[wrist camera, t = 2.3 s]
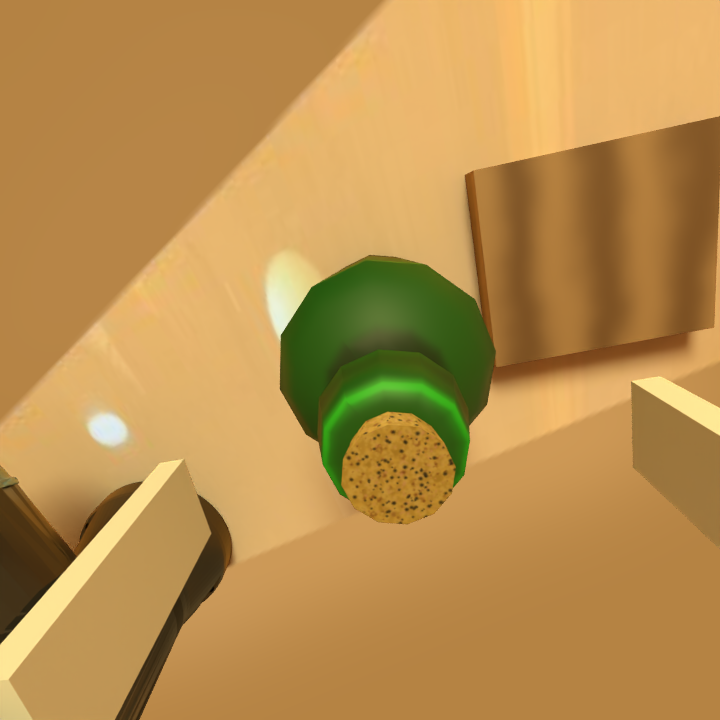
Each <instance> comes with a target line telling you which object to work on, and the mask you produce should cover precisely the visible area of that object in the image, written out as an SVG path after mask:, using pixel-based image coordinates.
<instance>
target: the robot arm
mask: <svg viewBox="0 0 720 720" xmlns="http://www.w3.org/2000/svg"><path fill="white" fill-rule="evenodd" d="M631 392H632V439H633V440H632V444H633V468H634V469H636V470H637V471H638V472H639V473H640V474H641V475H642V476H643V477H644V478H645V479H646V480H647V481H648V482H649V483H650V484H651V485H652V486H654V487H655V488H656V489H657V490H658V491H659V492H660V493H661V494H662V495H663V496H664V497H665V498H666V499H667V500H669V502H671V503H672V504H673V505H674V506H675V507H676V508H677V509H678V510H679V511H680V512H681V513H682V514H683V515H684V516H685V517H687V518H688V519H689V520H690V521H691V522H692V523H693V524H694V525H695V526H696V527H697V528H698V529H699V530H700V531H701V532H702V533H703V534H705V535H706V536H707V537H708V538H709V539H710V540H711V541H712V542H713V543H714V544H715V545H716V546H717V547H718V548H719V549H720V408H718V407H716V406H715V405H713V404H711V403H709V402H707V401H705V400H703V399H701V398H700V397H698V396H696V395H694V394H692V393H690V392H688V391H687V390H685V389H683V388H681V387H679V386H677V385H675V384H674V383H672V382H670V381H668V380H666V379H664V378H662V377H661V376H659V377H653V378H647V379H641V380H636V381H631ZM18 483H19V481H18V479H17V478H15V477H11V476H10V475H9V474H8V473H7V472H6V471H5V470H4V469H3V468H2V467H1V466H0V720H139V719H140V717H141V715H142V713H143V710H144V708H145V706H146V704H147V702H148V699H149V697H150V695H151V693H152V690H153V688H154V686H155V684H156V681H157V679H158V677H159V675H160V673H161V671H162V668H163V666H164V664H165V662H166V659H167V657H168V655H169V653H170V651H171V648H172V646H173V644H174V642H175V639H176V637H177V635H178V633H179V631H180V629H181V627H182V625H183V624H184V623H185V622H186V621H187V620H188V619H189V618H190V617H191V615H192V614H193V613H194V612H195V611H196V610H197V608H198V607H199V606H200V604H201V603H202V602H204V601H205V600H206V599H207V598H208V597H209V596H210V595H211V594H212V593H213V592H214V591H215V589H216V588H217V587H218V585H219V583H220V582H221V580H222V578H223V575H224V573H225V571H226V568H227V566H228V563H229V560H230V557H231V539H230V534H229V531H228V528H227V526H226V524H225V522H224V520H223V519H222V517H221V516H220V514H219V513H218V512H217V511H216V509H215V508H214V507H213V506H212V505H211V504H210V503H208V502H207V501H206V500H205V499H203V498H202V497H201V496H199V495H198V494H197V493H196V490H195V488H194V485H193V482H192V479H191V477H190V474H189V471H188V469H187V466H186V463H185V461H184V459H180V460H175V461H169V462H163V463H160V464H159V465H158V466H157V467H156V468H155V469H154V471H153V472H152V473H151V474H150V475H149V476H148V477H147V479H146V480H145V481H144V482H137V483H132V484H129V485H126V486H123V487H121V488H119V489H117V490H116V491H114V492H113V493H111V494H110V495H109V496H108V497H107V498H106V499H104V501H103V502H102V503H101V504H100V505H99V506H98V507H97V508H96V509H95V510H94V511H93V512H92V514H91V515H90V516H89V518H88V519H87V521H86V523H85V525H84V527H83V530H82V533H81V536H80V542H79V544H78V545H77V547H76V549H75V550H74V552H73V551H72V550H71V549H70V548H69V547H68V545H67V544H66V543H65V542H64V540H63V539H62V538H61V537H60V536H59V534H58V533H57V532H56V531H55V530H54V528H53V527H52V526H51V525H50V524H49V522H48V521H47V520H46V519H45V517H44V516H43V515H42V514H41V513H40V511H39V510H38V509H37V508H36V507H35V505H34V504H33V503H32V502H31V501H30V499H29V498H28V497H27V496H26V494H25V493H24V492H23V490H22V489H21V488H20V487H19V485H18Z"/></svg>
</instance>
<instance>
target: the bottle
mask: <svg viewBox="0 0 720 720" xmlns="http://www.w3.org/2000/svg"><path fill="white" fill-rule="evenodd" d="M495 356H496V350H495V347H494V345H493V342H492V340H491V337H490V335H489V332H488V330H487V328H486V325H485V323H484V320H483V318H482V315H481V313H480V310H479V308H478V306H477V303H476V301H475V299H474V298H472V297H471V296H469V295H468V294H467V293H465V292H464V291H462V290H461V289H460V288H458V287H457V286H455V285H454V284H453V283H451V282H450V281H448V280H447V279H446V278H444V277H443V276H441V275H440V274H438V273H437V272H436V271H434V270H433V269H431V268H430V267H429V266H427V265H424V264H420V263H417V262H413V261H409V260H405V259H401V258H397V257H388V256H375V255H369V256H367V257H365V258H363V259H361V260H359V261H357V262H355V263H353V264H351V265H349V266H347V267H345V268H343V269H342V270H340V271H338V272H337V273H335V274H333V275H331V276H330V277H328V278H326V279H325V280H323V281H321V282H320V283H318V284H316V285H315V286H313V287H311V289H310V291H309V292H308V294H307V295H306V297H305V298H304V300H303V302H302V303H301V305H300V306H299V308H298V309H297V311H296V312H295V314H294V316H293V317H292V319H291V320H290V322H289V323H288V325H287V327H286V328H285V330H284V331H283V333H282V334H281V357H280V390H281V392H282V394H283V395H284V397H285V399H286V401H287V402H288V404H289V406H290V408H291V409H292V411H293V413H294V414H295V416H296V418H297V420H298V421H299V423H300V425H301V427H302V428H303V430H304V432H305V434H306V435H308V436H309V437H311V438H313V439H314V440H316V441H318V442H319V446H320V451H321V457H322V462H323V466H324V467H325V469H326V471H327V473H328V474H329V476H330V478H331V480H332V481H333V483H334V485H335V487H336V488H337V490H338V492H339V493H340V495H342V496H344V497H345V498H347V499H349V500H350V501H351V503H352V505H353V507H354V508H355V509H357V510H359V511H360V512H362V513H364V514H365V515H367V516H369V517H370V518H372V519H374V520H376V521H377V522H383V523H397V524H409V523H411V522H414V521H417V520H419V519H422V518H425V517H427V516H429V515H432V514H434V513H435V512H436V511H437V510H438V509H439V507H440V506H441V505H442V504H443V503H444V502H445V501H446V499H447V498H448V497H449V496H450V495H451V494H452V489H453V487H454V486H455V485H456V484H457V483H458V482H459V480H460V479H461V478H462V476H464V473H465V467H466V461H467V455H468V449H469V443H470V436H469V425H470V424H471V423H472V422H473V421H474V419H475V418H476V417H477V416H478V415H479V414H480V412H481V411H482V410H483V409H484V408H485V406H486V405H487V402H488V396H489V390H490V384H491V379H492V373H493V367H494V361H495Z"/></svg>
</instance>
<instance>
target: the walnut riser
mask: <svg viewBox="0 0 720 720" xmlns="http://www.w3.org/2000/svg"><path fill="white" fill-rule="evenodd" d="M465 178H466V186H467V194H468V203H469V211H470V219H471V227H472V235H473V243H474V251H475V259H476V268H477V276H478V284H479V292H480V300H481V308H482V316H483V320H484V323H485V325H486V328H487V330H488V332H489V335H490V337H491V340H492V342H493V345H494V347H495V350H496V356H495V361H494V365H495V366H496V367H501V366H507V365H512V364H518V363H523V362H529V361H534V360H540V359H545V358H550V357H556V356H561V355H567V354H572V353H578V352H583V351H589V350H594V349H599V348H605V347H610V346H616V345H621V344H627V343H632V342H638V341H643V340H648V339H654V338H659V337H665V336H670V335H676V334H681V333H687V332H692V331H698V330H703V329H708V328H714V317H715V291H716V266H717V240H718V214H719V188H720V116H719V117H715V118H710V119H706V120H701V121H696V122H692V123H687V124H683V125H678V126H674V127H669V128H665V129H660V130H656V131H651V132H647V133H642V134H638V135H633V136H629V137H624V138H620V139H615V140H610V141H606V142H601V143H597V144H592V145H588V146H583V147H579V148H574V149H570V150H565V151H561V152H556V153H552V154H547V155H543V156H538V157H534V158H529V159H524V160H520V161H515V162H511V163H506V164H502V165H497V166H493V167H488V168H484V169H479V170H475V171H472V172H470V173H468V174H466V175H465Z"/></svg>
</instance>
